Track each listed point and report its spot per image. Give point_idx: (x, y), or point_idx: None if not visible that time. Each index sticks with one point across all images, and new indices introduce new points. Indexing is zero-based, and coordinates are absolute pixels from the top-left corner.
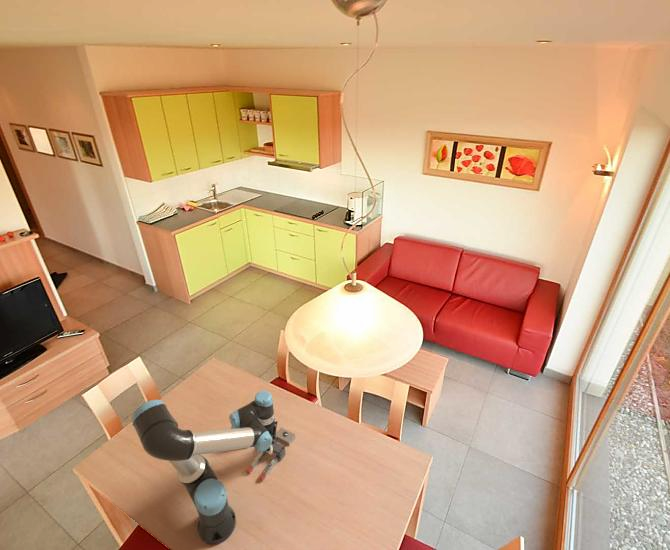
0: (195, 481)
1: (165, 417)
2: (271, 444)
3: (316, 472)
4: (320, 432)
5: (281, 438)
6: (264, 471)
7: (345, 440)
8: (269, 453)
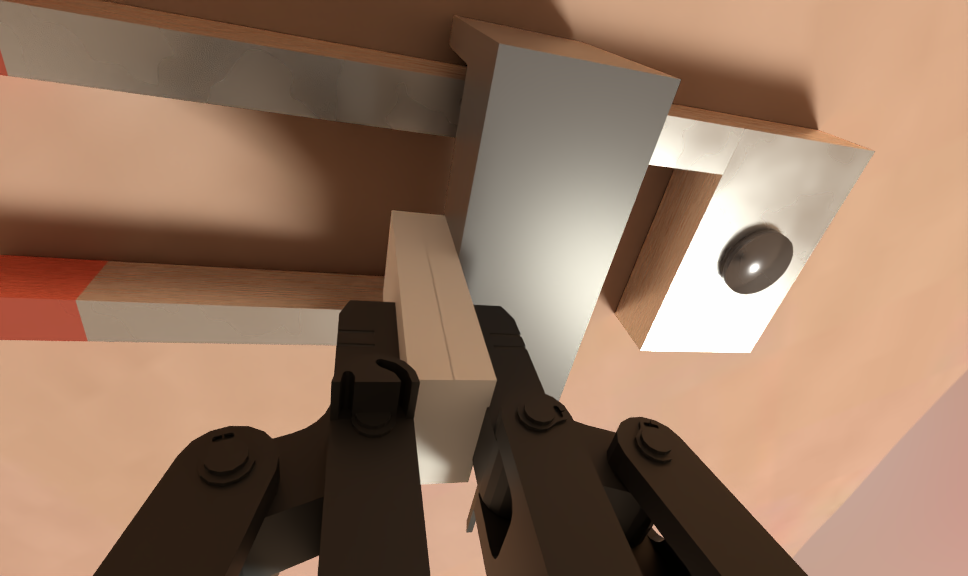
0: None
1: None
2: (450, 475)
3: (434, 559)
4: (768, 443)
5: (689, 249)
6: (102, 311)
7: None
8: (385, 270)
